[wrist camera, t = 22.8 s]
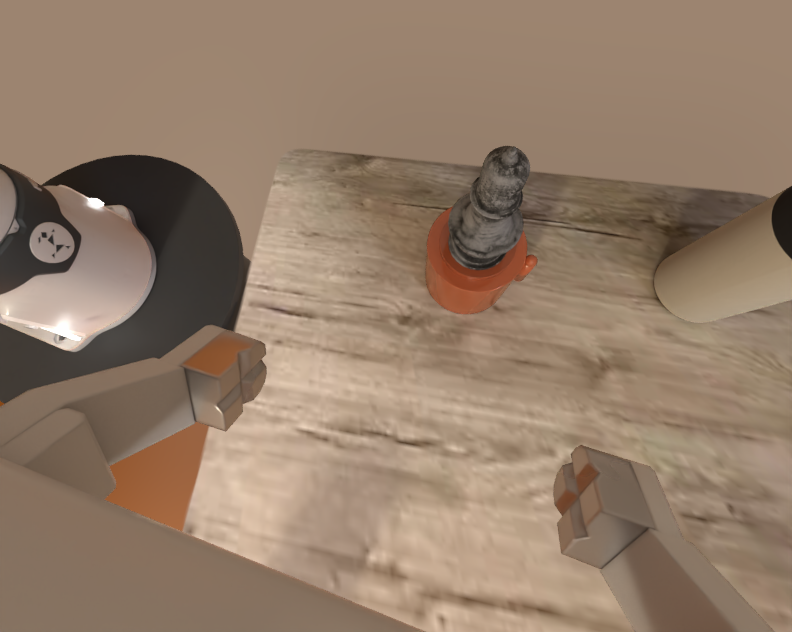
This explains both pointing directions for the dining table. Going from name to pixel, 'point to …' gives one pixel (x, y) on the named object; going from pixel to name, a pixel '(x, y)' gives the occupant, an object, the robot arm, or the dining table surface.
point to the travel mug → (732, 266)
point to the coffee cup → (470, 273)
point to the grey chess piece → (490, 211)
